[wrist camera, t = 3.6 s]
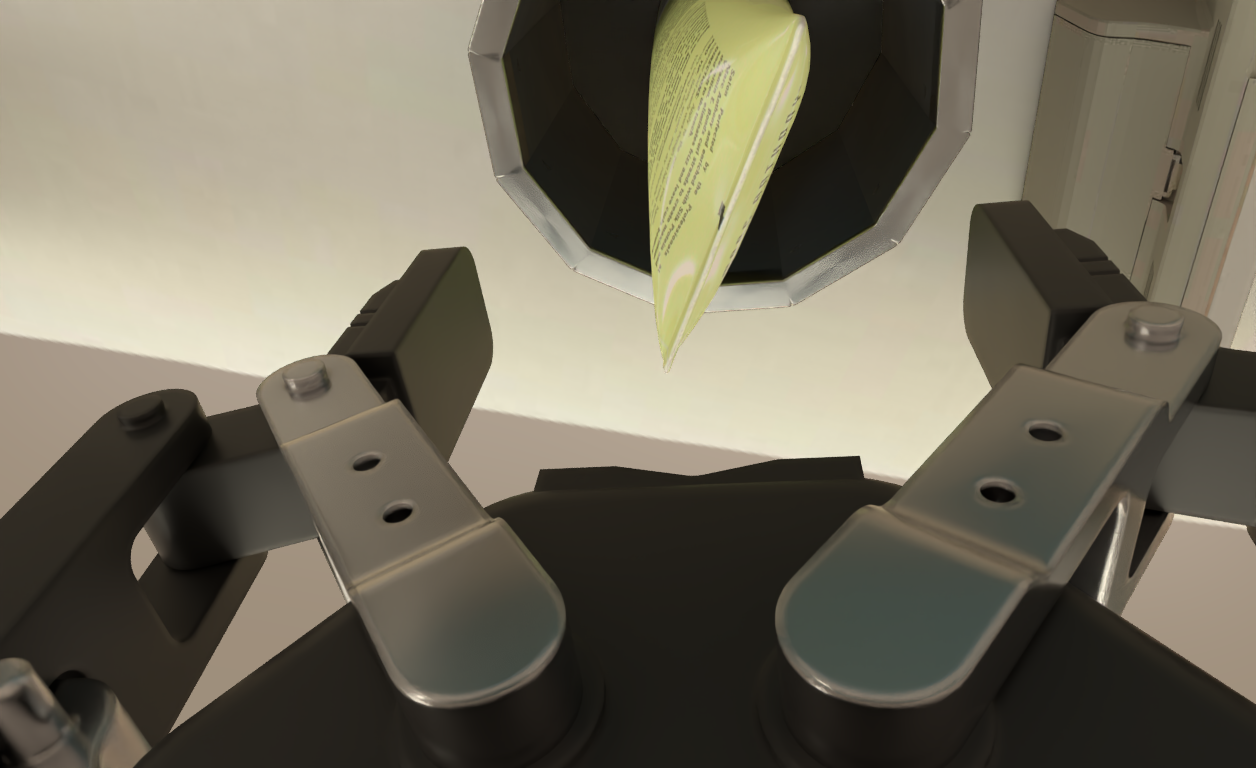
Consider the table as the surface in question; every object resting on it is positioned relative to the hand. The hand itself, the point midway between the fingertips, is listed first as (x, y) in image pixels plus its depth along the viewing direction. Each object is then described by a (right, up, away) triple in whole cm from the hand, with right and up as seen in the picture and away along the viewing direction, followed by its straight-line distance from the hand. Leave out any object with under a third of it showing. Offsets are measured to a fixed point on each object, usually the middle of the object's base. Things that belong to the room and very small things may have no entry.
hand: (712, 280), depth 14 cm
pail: (+2, +12, +19) cm, 22 cm away
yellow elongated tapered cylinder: (+2, +12, +19) cm, 23 cm away
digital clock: (+19, +9, +19) cm, 28 cm away
